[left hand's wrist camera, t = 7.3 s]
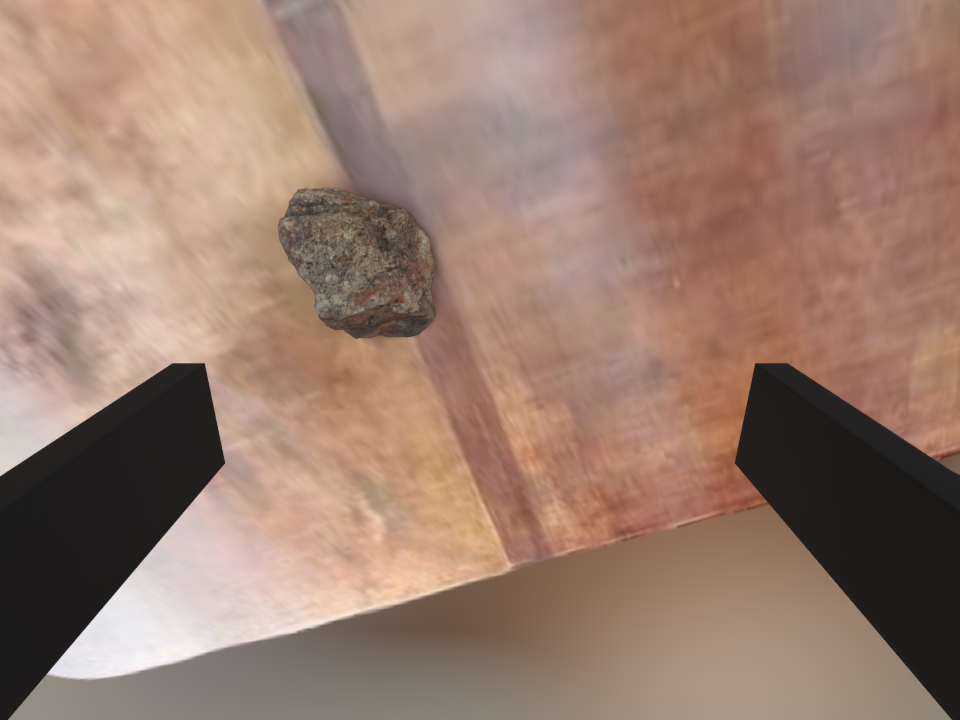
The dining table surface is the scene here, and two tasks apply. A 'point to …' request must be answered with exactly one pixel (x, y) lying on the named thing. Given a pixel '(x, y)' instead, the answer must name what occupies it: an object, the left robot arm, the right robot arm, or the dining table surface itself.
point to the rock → (360, 262)
